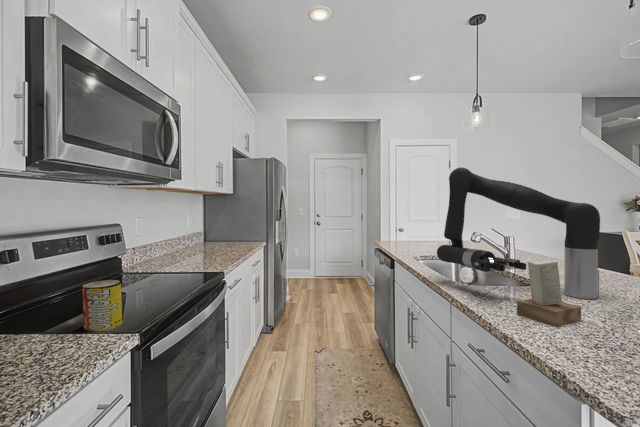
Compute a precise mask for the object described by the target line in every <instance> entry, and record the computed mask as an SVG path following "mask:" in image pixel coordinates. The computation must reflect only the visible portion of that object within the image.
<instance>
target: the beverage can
mask: <svg viewBox="0 0 640 427" xmlns="http://www.w3.org/2000/svg"><path fill="white" fill-rule="evenodd" d="M122 301H123V300H122V281H121V280H117V279H108V280H100V281H99V280H98V281H93V282H89V283H85V284H83V285H82V314H83V315H82V317H83V320H82V322H83V331H84V332H86V333H87V332H88V333H98V332H105V331H109V330H113V329H116V328H118V327H120V326H121V325H122V324H123V307H122V306H123V305H122V304H123V303H122Z"/></svg>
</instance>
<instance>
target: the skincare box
mask: <svg viewBox="0 0 640 427" xmlns="http://www.w3.org/2000/svg"><path fill="white" fill-rule="evenodd" d="M527 268H528V277H529V286H530V295H531V299H532V301H533V302H534V303H536V304H538V305H540V306H543V305H552V304H560V303H562V302H563V298H562V290H561V288H562V287H561V280H560V279H561V278H560V271H559V270H560V269H559V263H558V261H555V260H553V259H542V260H540V259H539V260H533V261H527Z"/></svg>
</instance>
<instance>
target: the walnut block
mask: <svg viewBox="0 0 640 427" xmlns="http://www.w3.org/2000/svg"><path fill="white" fill-rule="evenodd" d="M516 314H517V315H516V316H521V317H524V318H527V319H529V320H530V319H531V320H532V321H533V320H534V321H536V322H539V323H543V324H545V325H549V326H551V327H554V326H555V328H557V327H562V326H566V325H571V324H575V323H579V322H581V321H582V306H579V305H576V304H572V303H568V302H567V303H566V302H563V301H562V303H560V304H552V305H543V306H540V305H538V304H536V303H534V302H533V301H532V298H527V299H522V300H517V301H516ZM574 322H575V323H574ZM570 323H571V324H570ZM565 324H566V325H565ZM561 325H562V326H561Z"/></svg>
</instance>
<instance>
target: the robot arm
mask: <svg viewBox="0 0 640 427" xmlns="http://www.w3.org/2000/svg"><path fill="white" fill-rule="evenodd" d="M448 180H449V181H448V182H449V197H448V198H449V201H448V206H447V207H448V209H447V214H446V219H445V224H444V225H445V226H444V227H445V228H444V233H443V236H444V238H445V239H447V240H449V241H450V242H451V245H450V244H442V245H440V246H439V247H438V248H437V250H436V257H437V258H438V259H439V260H440V261H442V262H443V263H451V264H458V265H461V266H464V267H467V268H470V269H473V270H476V271H481V272H484V273H487V272H488V273H489V272H491V271H498V272H505V271H506V270H509V269H510V268H511V269H518V270H521V271H526V270H527V262H521V260H520V259H515V258H508V257H500V256H495V254H494V253H493V252H491V251H489V250H483V249H478V248H469V247H468V248H467V247H464V243H463V232H464V224H465V212H466V209H465V208H466V202H467V200H466V199H467V196H468V193H470V194H474V195H477V196H478V195H479V196H482V197H484V198H486V199H488V200H491V201H493V202H496V203H498V204H500V205H503V206H506V207H509V208H512V209H515V210H518V211H522V212H527V213H531V214H536V215H541V216H545V217H549V218H551V219H554V220H556V221H558V222H561V223H562V224H563V223H564V224H565V239H564V281H563V282H564V286H563V287H564V292H563V293H564V295H566V296H568V297H572V298H577V299H587V300H594V299H595V300H596V299H598V297H600V270H599V268H598V266H599V265H598V264H599V249H598V248H599V242H600V237H601V234H600V232H601V216H600V212H599V209H598V208H597V207H596V206H594V204H593V205H592V204H591V203H585V202H574V201H568V200H564V199H559V198H556V197H553V196H550V195H547V194H546V193H543V192H541V191H539V190H537V189H534V188H531V187H529V186H525V185H522V184H519V183H515V182H510V181H504V180H496V179H490V178H486V177H483V176H480V175H478V174H475V173H473V172H472V171H471V170H470V169H468V168H466V167H457V168H455V169H454V170H452V171H451V173H450V174H449V176H448Z"/></svg>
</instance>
